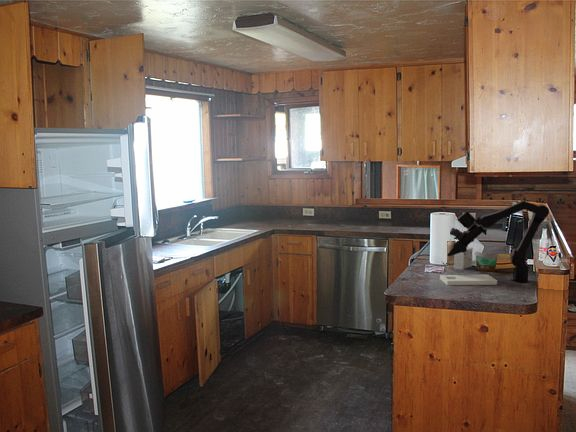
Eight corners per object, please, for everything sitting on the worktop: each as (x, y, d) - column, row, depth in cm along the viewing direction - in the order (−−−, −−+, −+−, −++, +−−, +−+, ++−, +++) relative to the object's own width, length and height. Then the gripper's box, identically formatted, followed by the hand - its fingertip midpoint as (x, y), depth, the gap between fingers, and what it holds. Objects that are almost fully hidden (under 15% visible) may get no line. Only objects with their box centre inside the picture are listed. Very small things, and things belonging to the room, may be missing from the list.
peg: (455, 269, 268) (456, 242, 266) (449, 269, 267) (450, 242, 265) (450, 267, 272) (451, 240, 270) (444, 268, 270) (445, 241, 268)
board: (487, 278, 266) (487, 274, 266) (497, 284, 254) (497, 280, 254) (439, 279, 266) (440, 275, 266) (447, 285, 254) (447, 281, 254)
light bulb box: (461, 264, 298) (461, 245, 296) (472, 266, 293) (473, 247, 292) (452, 267, 290) (452, 248, 289) (463, 269, 286) (464, 250, 284)
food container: (474, 271, 281) (475, 252, 280) (473, 268, 287) (474, 250, 286) (499, 272, 278) (500, 254, 277) (498, 270, 284) (498, 251, 282)
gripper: (459, 220, 274) (436, 240, 278) (460, 225, 256) (436, 246, 261) (474, 235, 273) (451, 255, 277) (477, 241, 255) (452, 263, 259)
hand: (447, 255), depth 269 cm, fingers closed on peg, 4 cm apart
